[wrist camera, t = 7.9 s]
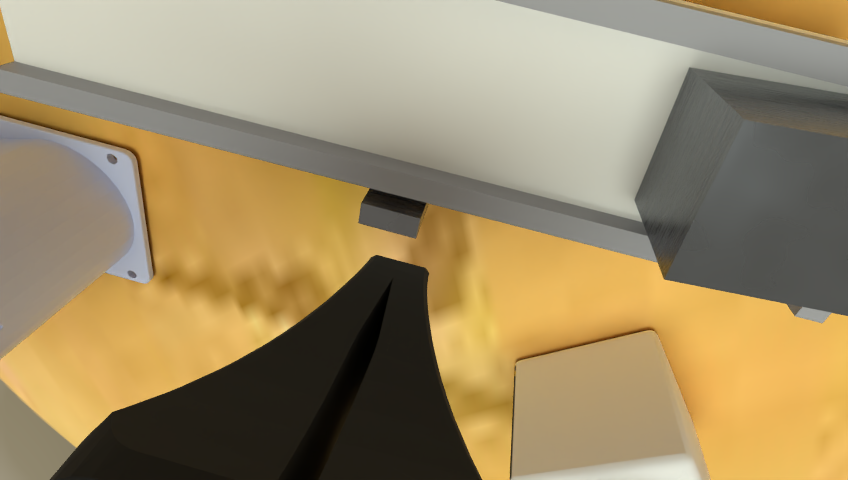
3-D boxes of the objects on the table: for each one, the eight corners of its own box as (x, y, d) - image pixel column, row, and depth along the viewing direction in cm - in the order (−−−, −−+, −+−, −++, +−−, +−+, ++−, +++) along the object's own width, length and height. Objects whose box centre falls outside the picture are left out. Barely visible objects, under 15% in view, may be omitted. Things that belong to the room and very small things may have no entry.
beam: (85, 62, 19) (-29, 102, 15) (44, -160, 15) (-122, -185, 11) (758, 234, 19) (822, 323, 15) (890, 45, 15) (1026, 95, 11)
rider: (634, 200, 15) (664, 279, 12) (689, 67, 13) (744, 119, 10) (803, 231, 15) (881, 322, 12) (889, 101, 13) (1016, 167, 10)
